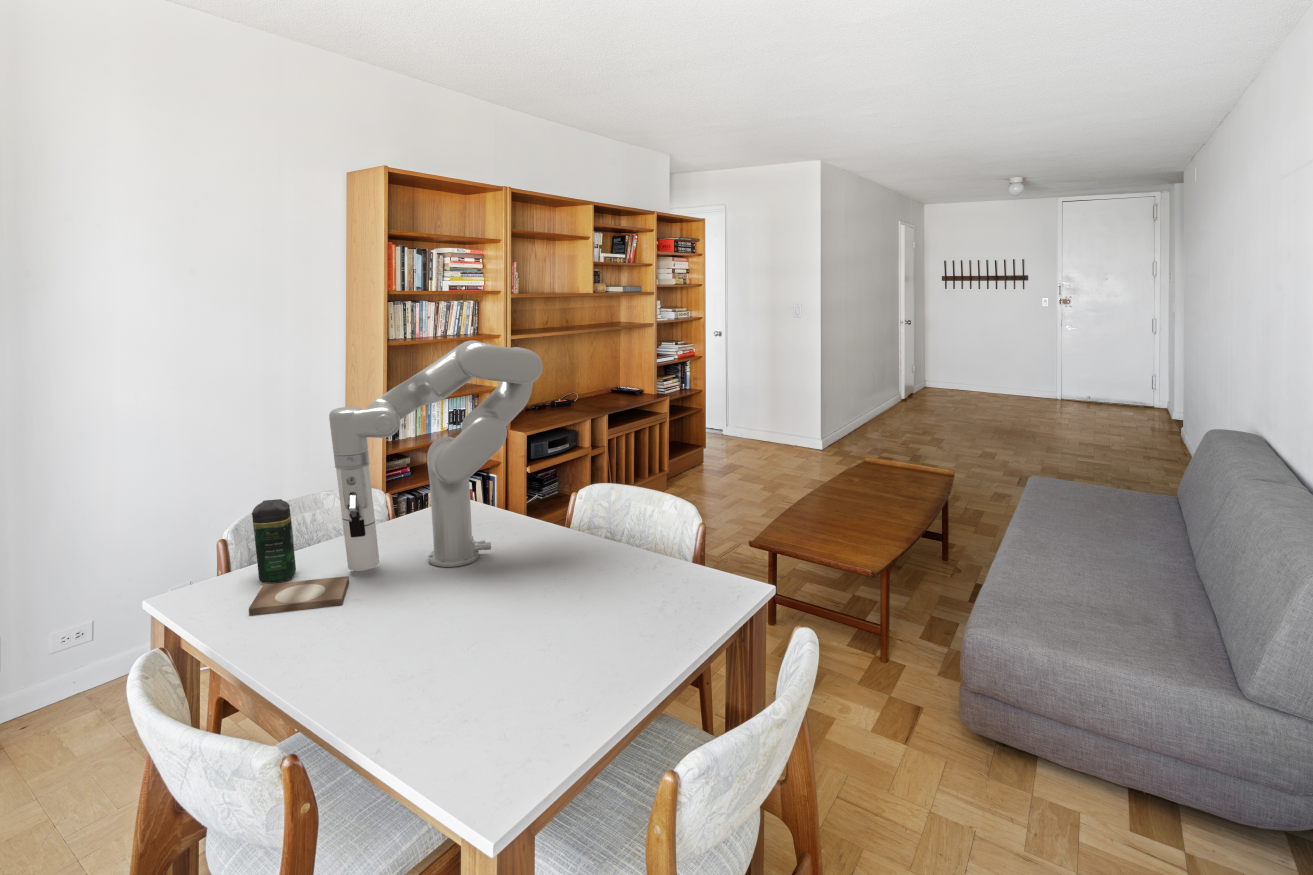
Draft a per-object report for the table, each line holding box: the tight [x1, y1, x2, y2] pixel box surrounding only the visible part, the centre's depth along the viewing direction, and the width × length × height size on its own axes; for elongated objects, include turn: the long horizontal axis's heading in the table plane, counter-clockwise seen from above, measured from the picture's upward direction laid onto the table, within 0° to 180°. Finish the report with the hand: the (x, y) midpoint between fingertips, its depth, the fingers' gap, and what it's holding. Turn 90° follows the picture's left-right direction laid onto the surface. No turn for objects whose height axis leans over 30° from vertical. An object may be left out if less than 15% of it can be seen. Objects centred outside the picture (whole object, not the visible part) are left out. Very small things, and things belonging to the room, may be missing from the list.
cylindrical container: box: [335, 464, 380, 572], centre depth 168 cm, size 7×7×25 cm
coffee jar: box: [251, 498, 297, 584], centre depth 166 cm, size 10×8×19 cm
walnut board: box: [248, 575, 350, 616], centre depth 156 cm, size 18×13×2 cm
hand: (359, 530), depth 168 cm, fingers closed on cylindrical container, 7 cm apart
